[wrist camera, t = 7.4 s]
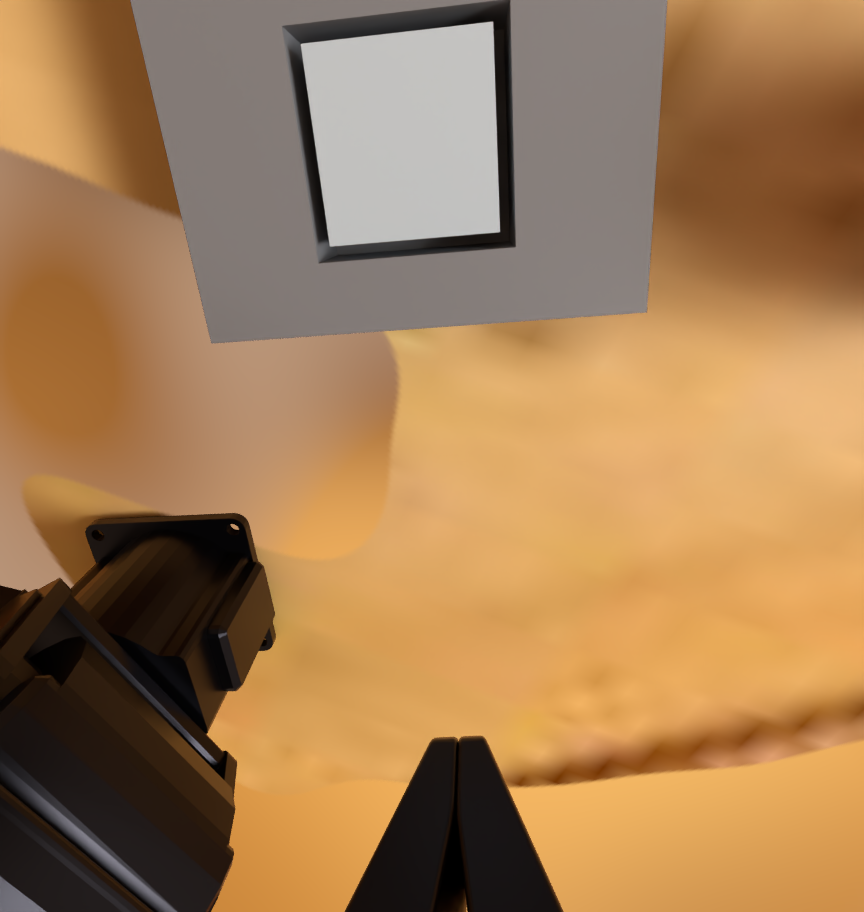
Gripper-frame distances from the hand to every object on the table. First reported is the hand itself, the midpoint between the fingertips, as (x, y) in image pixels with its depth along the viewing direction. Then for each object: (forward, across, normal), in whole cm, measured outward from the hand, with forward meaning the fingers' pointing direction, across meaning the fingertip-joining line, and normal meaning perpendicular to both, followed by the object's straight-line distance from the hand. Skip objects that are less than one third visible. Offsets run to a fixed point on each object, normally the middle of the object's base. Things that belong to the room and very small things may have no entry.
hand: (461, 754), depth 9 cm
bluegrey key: (+12, 0, -9) cm, 15 cm away
